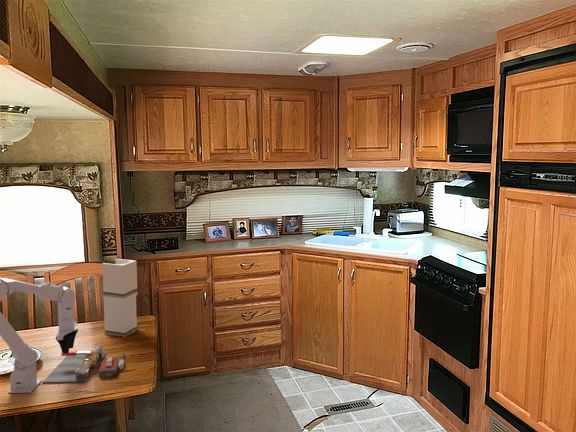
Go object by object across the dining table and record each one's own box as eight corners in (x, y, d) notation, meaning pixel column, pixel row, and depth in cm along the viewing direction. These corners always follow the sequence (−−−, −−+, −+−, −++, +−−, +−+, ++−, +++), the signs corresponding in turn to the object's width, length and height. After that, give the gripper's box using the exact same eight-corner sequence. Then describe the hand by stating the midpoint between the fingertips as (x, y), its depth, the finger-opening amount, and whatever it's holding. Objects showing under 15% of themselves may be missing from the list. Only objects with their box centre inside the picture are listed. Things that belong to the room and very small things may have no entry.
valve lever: (94, 353, 195) (94, 349, 195) (92, 355, 193) (92, 352, 193) (63, 353, 195) (63, 349, 194) (61, 355, 192) (61, 352, 192)
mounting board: (84, 382, 182) (84, 381, 182) (42, 383, 181) (42, 381, 181) (105, 354, 208) (105, 352, 208) (69, 354, 207) (69, 353, 207)
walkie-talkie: (121, 378, 187) (126, 356, 206) (121, 367, 187) (126, 347, 206) (98, 380, 185) (104, 358, 204) (97, 369, 185) (104, 348, 204)
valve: (86, 378, 184) (86, 366, 183) (74, 379, 184) (74, 366, 183) (104, 354, 206) (104, 343, 205) (94, 354, 205) (94, 343, 205)
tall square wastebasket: (138, 329, 237) (136, 260, 232) (124, 337, 227) (122, 265, 222) (118, 326, 240) (116, 258, 235) (104, 334, 230) (102, 263, 225)
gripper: (69, 324, 180) (71, 358, 182) (83, 311, 194) (84, 343, 196) (50, 324, 179) (52, 358, 181) (65, 311, 194) (67, 343, 196)
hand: (67, 350), depth 189 cm, fingers open, 4 cm apart
